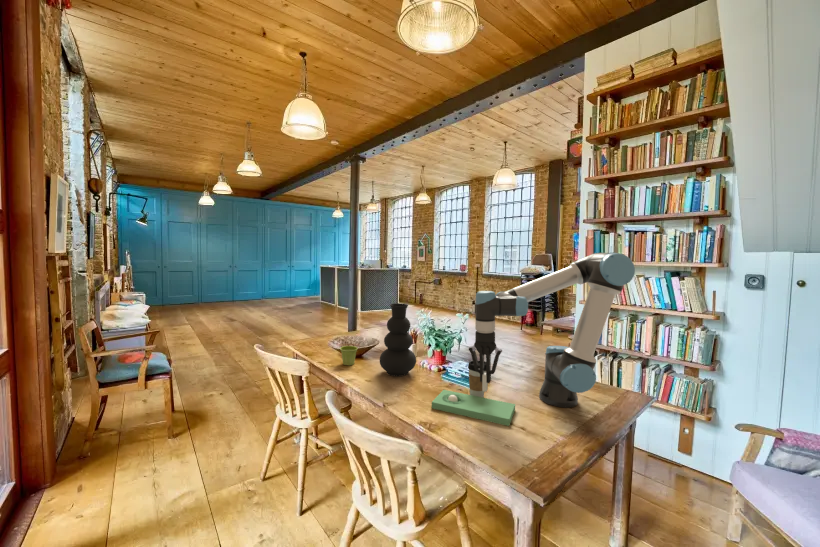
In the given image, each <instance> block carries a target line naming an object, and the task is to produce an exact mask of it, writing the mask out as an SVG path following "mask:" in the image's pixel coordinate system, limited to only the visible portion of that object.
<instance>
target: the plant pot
mask: <svg viewBox="0 0 820 547" xmlns="http://www.w3.org/2000/svg"><path fill="white" fill-rule="evenodd" d="M358 349H359V348H358V346H355V345H345V346H344V345H343V346H341V347H339V350H340V353H341V359H342V360H341V361H342V364H343V365H345V366H353V365H354V364H355V361H356V356H357V351H358Z"/></svg>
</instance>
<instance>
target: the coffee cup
mask: <svg viewBox="0 0 820 547" xmlns="http://www.w3.org/2000/svg"><path fill="white" fill-rule="evenodd" d="M478 364H479V368H480V360H478ZM467 369H468V385H469V388H468V389H469V395H473V396H478V397H482V398H485V391H482V382H480V373H478V372H476V371H475V368H474V364H473V360H471V361H469V362H468V365H467ZM484 373H486V360H484Z"/></svg>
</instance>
